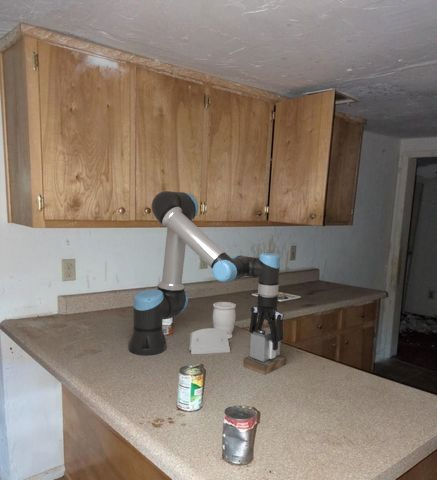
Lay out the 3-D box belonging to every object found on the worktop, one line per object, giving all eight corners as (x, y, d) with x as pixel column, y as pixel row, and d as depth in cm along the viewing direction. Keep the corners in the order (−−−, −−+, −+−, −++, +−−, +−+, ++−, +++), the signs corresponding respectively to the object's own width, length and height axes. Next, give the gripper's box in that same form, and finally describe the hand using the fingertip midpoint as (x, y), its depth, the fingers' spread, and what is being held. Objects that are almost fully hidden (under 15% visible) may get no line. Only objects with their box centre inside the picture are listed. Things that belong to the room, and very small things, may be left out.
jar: (219, 331, 183) (220, 300, 181) (238, 335, 178) (240, 303, 176) (207, 337, 174) (208, 304, 172) (227, 341, 168) (228, 308, 167)
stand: (264, 374, 136) (265, 365, 136) (243, 366, 143) (243, 357, 143) (285, 364, 146) (285, 356, 146) (264, 357, 153) (264, 349, 152)
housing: (279, 355, 146) (281, 328, 145) (263, 362, 139) (265, 333, 138) (265, 350, 150) (267, 323, 149) (249, 356, 143) (251, 329, 142)
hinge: (190, 354, 153) (189, 328, 155) (188, 353, 157) (188, 329, 160) (230, 352, 157) (229, 327, 159) (228, 351, 161) (226, 327, 164)
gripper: (295, 298, 138) (292, 360, 140) (253, 289, 152) (250, 345, 154) (284, 301, 133) (280, 365, 135) (241, 291, 146) (238, 349, 148)
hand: (264, 354), depth 144 cm, fingers closed on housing, 6 cm apart
